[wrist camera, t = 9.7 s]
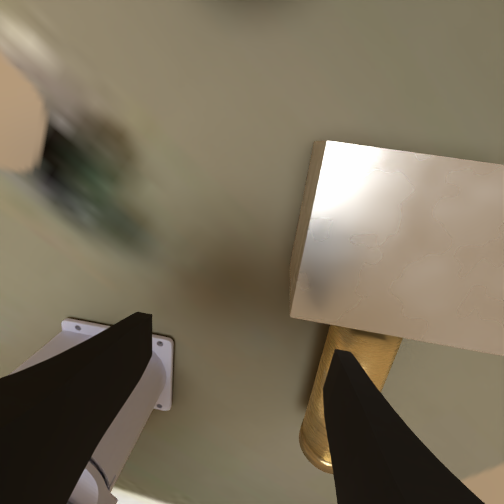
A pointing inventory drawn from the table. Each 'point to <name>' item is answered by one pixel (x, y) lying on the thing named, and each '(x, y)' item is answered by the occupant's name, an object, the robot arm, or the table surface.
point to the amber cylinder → (356, 341)
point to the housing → (401, 246)
